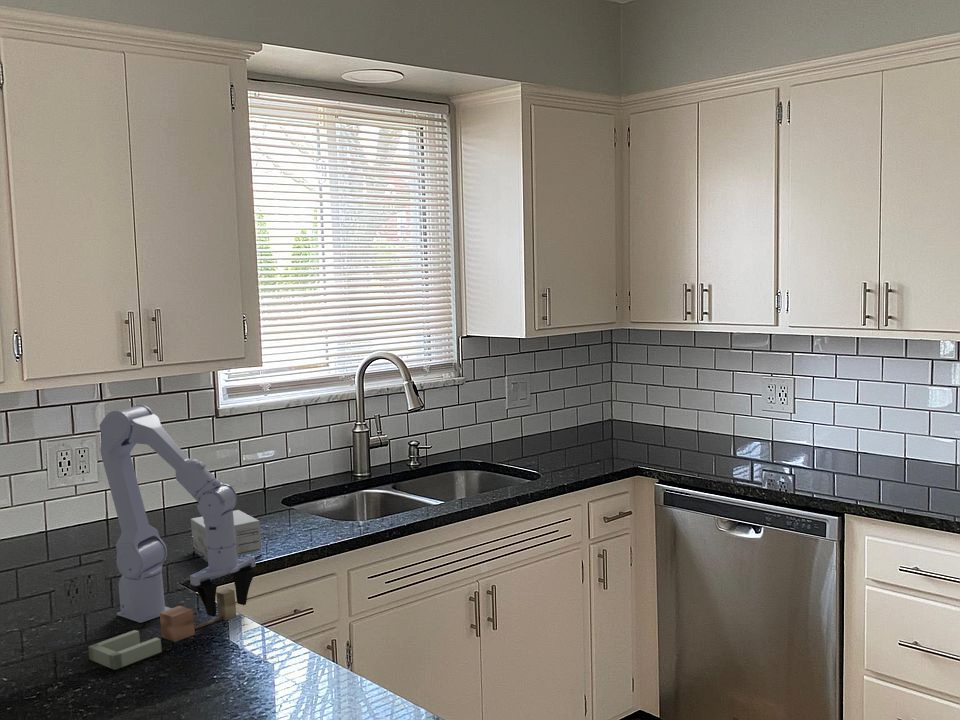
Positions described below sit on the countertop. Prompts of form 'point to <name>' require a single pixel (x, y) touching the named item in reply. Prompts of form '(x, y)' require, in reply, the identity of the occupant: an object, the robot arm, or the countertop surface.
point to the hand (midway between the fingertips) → (227, 609)
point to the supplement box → (244, 534)
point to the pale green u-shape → (123, 650)
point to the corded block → (181, 619)
